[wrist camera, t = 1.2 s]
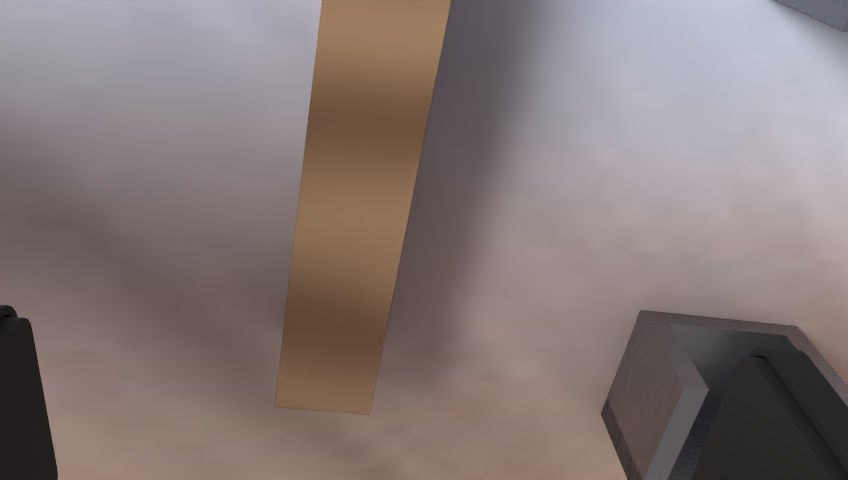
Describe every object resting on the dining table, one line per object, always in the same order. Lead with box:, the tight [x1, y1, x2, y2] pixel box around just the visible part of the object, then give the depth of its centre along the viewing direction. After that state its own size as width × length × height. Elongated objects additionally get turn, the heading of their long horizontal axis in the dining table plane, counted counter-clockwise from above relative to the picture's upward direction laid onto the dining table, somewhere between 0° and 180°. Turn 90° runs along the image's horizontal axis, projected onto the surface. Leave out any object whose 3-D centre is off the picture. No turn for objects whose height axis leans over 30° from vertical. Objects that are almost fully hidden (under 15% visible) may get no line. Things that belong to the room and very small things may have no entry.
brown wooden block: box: [275, 0, 451, 415], centre depth 25 cm, size 22×4×5 cm, turn 169°
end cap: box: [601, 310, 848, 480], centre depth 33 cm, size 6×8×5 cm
